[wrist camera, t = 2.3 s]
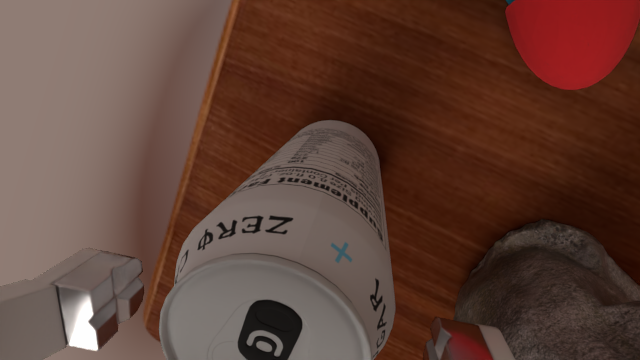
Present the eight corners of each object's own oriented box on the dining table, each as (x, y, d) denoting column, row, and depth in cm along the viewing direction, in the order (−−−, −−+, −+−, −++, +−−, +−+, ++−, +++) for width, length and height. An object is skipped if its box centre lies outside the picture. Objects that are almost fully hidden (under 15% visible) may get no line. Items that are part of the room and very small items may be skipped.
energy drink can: (275, 187, 22) (117, 390, 8) (304, 103, 20) (156, 184, 6) (357, 219, 22) (339, 480, 8) (394, 138, 20) (456, 303, 6)
